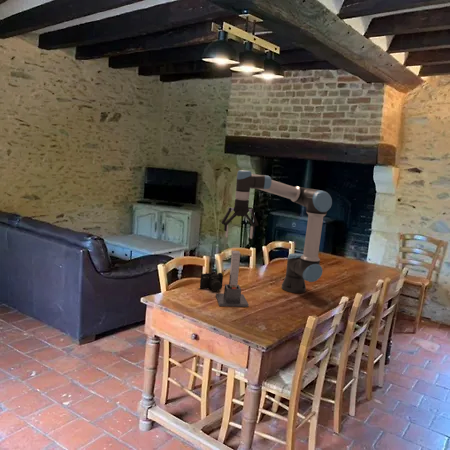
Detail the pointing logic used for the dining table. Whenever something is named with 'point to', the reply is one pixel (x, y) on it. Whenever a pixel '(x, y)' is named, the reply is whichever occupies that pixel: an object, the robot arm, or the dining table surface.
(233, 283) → the column
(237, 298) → the stand base
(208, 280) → the camera
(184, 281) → the dining table surface
